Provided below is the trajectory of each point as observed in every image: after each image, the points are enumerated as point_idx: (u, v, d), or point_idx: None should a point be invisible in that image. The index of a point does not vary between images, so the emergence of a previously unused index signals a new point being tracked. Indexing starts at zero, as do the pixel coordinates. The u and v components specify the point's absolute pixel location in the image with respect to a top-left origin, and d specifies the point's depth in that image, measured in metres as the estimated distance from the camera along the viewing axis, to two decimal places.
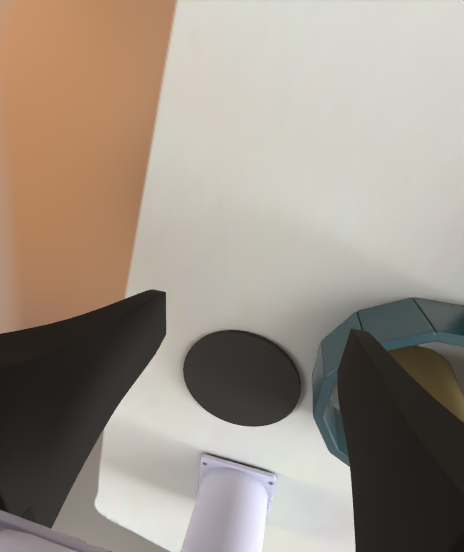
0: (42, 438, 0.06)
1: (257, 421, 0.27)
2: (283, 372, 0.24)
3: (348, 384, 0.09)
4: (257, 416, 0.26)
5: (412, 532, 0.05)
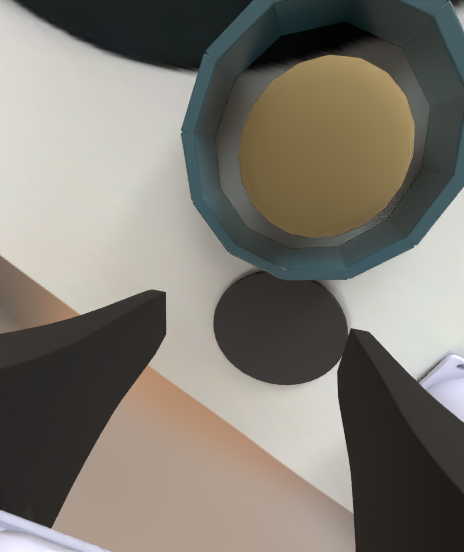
0: (42, 438, 0.06)
1: (338, 337, 0.22)
2: (271, 285, 0.21)
3: (348, 384, 0.09)
4: (330, 334, 0.22)
5: (413, 532, 0.05)
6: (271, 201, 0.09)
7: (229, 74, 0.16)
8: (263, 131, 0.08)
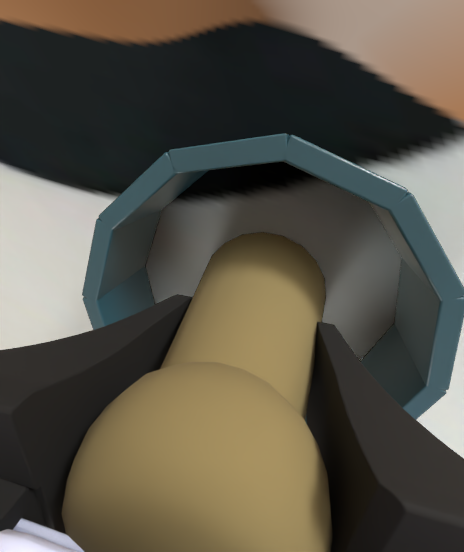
0: None
1: None
2: None
3: (312, 376, 0.10)
4: None
5: (340, 510, 0.05)
6: None
7: (147, 215, 0.12)
8: (74, 536, 0.05)
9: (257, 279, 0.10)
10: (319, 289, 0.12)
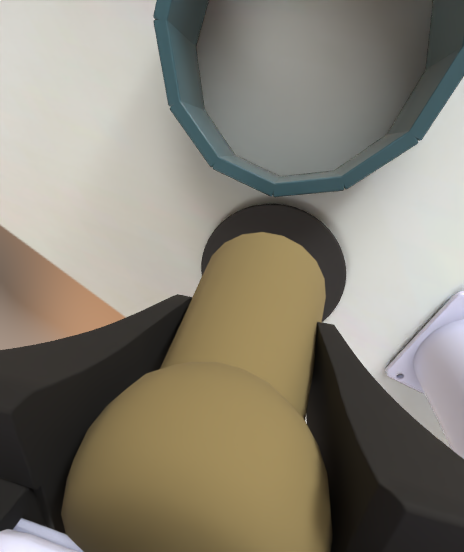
0: None
1: (336, 278, 0.20)
2: (261, 221, 0.20)
3: (312, 376, 0.10)
4: (327, 275, 0.20)
5: (340, 509, 0.05)
6: None
7: None
8: (73, 536, 0.05)
9: (256, 279, 0.10)
10: (319, 289, 0.12)
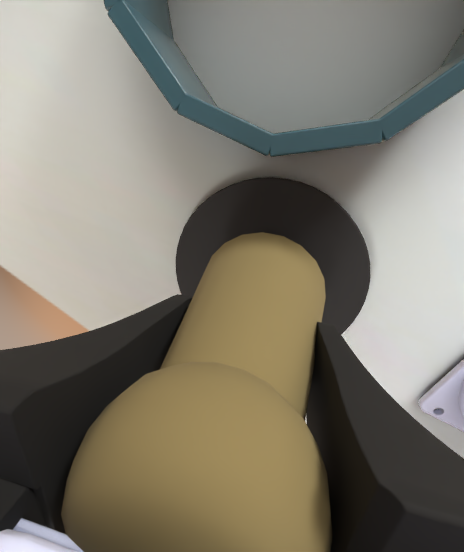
0: None
1: (356, 280, 0.15)
2: (255, 202, 0.14)
3: None
4: (344, 276, 0.15)
5: (341, 510, 0.05)
6: None
7: None
8: (73, 536, 0.05)
9: (256, 279, 0.10)
10: (319, 289, 0.12)
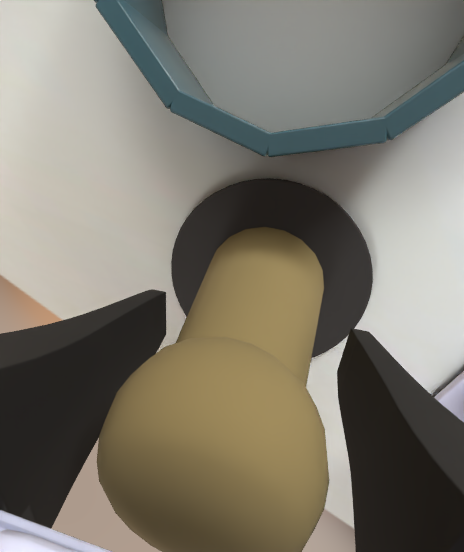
0: (42, 438, 0.06)
1: (358, 285, 0.14)
2: (252, 204, 0.14)
3: (348, 384, 0.09)
4: (345, 281, 0.14)
5: (413, 532, 0.05)
6: (138, 535, 0.06)
7: None
8: (109, 477, 0.06)
9: (260, 269, 0.11)
10: (317, 279, 0.13)
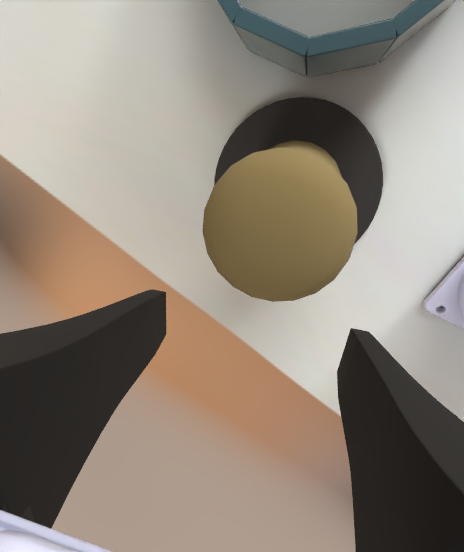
0: (42, 438, 0.06)
1: (371, 188, 0.17)
2: (285, 120, 0.17)
3: (348, 383, 0.09)
4: (360, 185, 0.17)
5: (413, 532, 0.05)
6: (230, 273, 0.10)
7: None
8: (219, 216, 0.09)
9: None
10: None
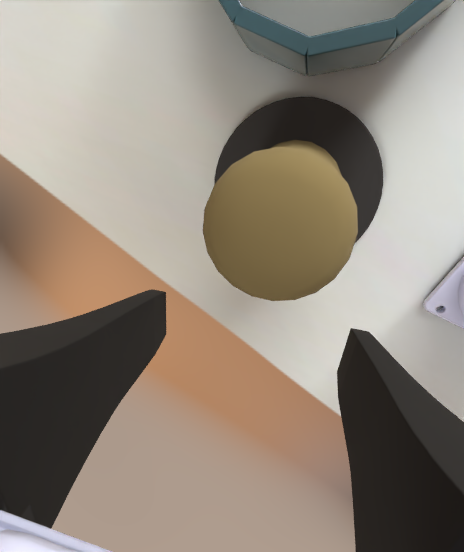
0: (42, 438, 0.06)
1: (371, 188, 0.17)
2: (286, 119, 0.17)
3: (348, 384, 0.09)
4: (360, 185, 0.17)
5: (413, 531, 0.05)
6: (230, 273, 0.10)
7: None
8: (219, 216, 0.09)
9: None
10: None
